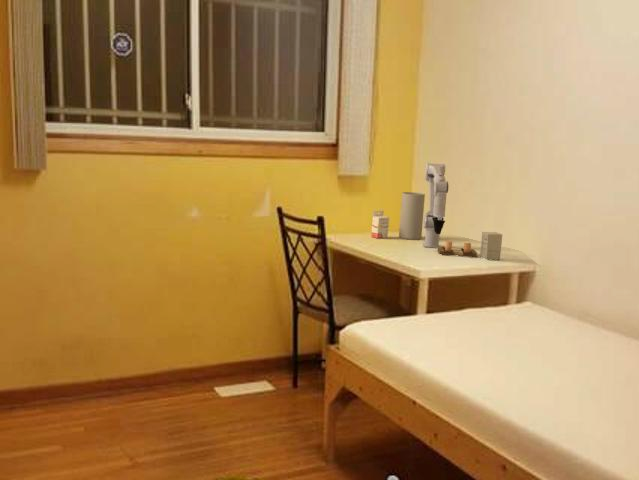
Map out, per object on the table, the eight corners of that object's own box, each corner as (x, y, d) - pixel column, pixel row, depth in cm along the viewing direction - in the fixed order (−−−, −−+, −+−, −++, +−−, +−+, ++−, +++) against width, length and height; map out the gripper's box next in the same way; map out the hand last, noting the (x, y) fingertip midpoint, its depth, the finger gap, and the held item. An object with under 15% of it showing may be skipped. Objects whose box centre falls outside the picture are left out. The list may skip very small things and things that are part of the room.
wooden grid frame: (437, 250, 340) (437, 246, 340) (473, 253, 339) (473, 249, 339) (439, 254, 328) (439, 250, 328) (476, 257, 327) (477, 253, 327)
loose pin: (444, 253, 333) (445, 241, 332) (451, 254, 332) (452, 242, 332) (444, 254, 330) (445, 242, 329) (451, 255, 329) (452, 243, 328)
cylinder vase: (417, 236, 385) (421, 192, 381) (424, 240, 372) (427, 195, 368) (396, 235, 383) (399, 191, 379) (402, 239, 371) (405, 194, 367)
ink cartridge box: (377, 238, 368) (379, 212, 366) (370, 237, 372) (372, 210, 370) (388, 237, 374) (390, 211, 372) (381, 236, 378) (383, 210, 375)
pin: (462, 254, 332) (464, 242, 331) (469, 255, 332) (470, 243, 331) (463, 256, 329) (464, 243, 328) (470, 256, 329) (471, 244, 328)
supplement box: (493, 257, 330) (496, 231, 328) (500, 260, 323) (502, 234, 321) (479, 257, 329) (481, 231, 327) (485, 260, 321) (488, 233, 319)
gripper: (430, 203, 341) (428, 230, 343) (432, 206, 327) (430, 234, 329) (444, 204, 341) (442, 231, 343) (447, 207, 326) (444, 235, 328)
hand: (437, 232), depth 336 cm, fingers open, 7 cm apart
